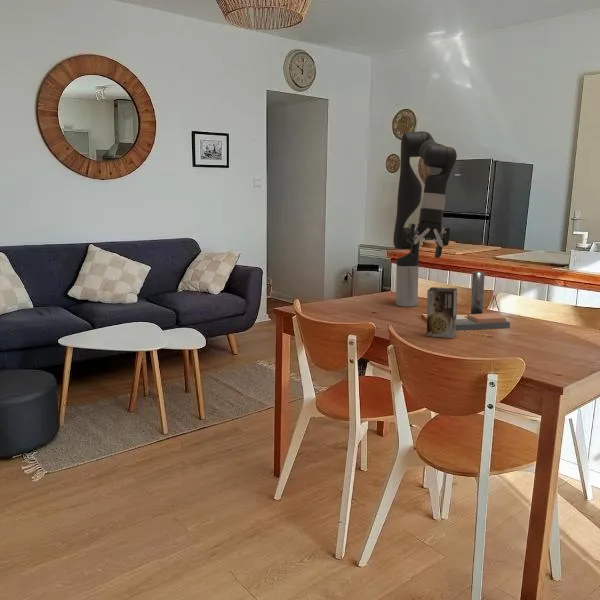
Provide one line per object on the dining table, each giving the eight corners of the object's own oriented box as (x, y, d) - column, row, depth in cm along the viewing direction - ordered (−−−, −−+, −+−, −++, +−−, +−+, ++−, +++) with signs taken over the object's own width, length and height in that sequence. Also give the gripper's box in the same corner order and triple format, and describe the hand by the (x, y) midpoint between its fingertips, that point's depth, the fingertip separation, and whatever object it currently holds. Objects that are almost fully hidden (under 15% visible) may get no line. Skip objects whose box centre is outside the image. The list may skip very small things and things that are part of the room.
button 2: (467, 319, 214) (468, 314, 214) (494, 318, 216) (495, 313, 216) (477, 324, 207) (478, 319, 206) (505, 323, 208) (505, 317, 208)
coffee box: (456, 334, 200) (458, 288, 196) (452, 338, 194) (454, 291, 191) (429, 331, 203) (431, 286, 200) (425, 336, 198) (427, 289, 194)
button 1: (448, 321, 212) (448, 316, 211) (461, 321, 212) (461, 315, 212) (454, 324, 207) (454, 319, 206) (467, 324, 208) (467, 318, 207)
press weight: (464, 317, 225) (466, 271, 222) (480, 316, 226) (482, 270, 223) (472, 321, 219) (474, 273, 215) (488, 320, 220) (491, 273, 216)
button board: (440, 324, 214) (440, 319, 214) (496, 321, 217) (496, 316, 217) (451, 330, 204) (451, 325, 204) (509, 327, 208) (510, 322, 207)
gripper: (446, 210, 196) (439, 257, 199) (407, 205, 193) (401, 253, 196) (457, 210, 189) (449, 259, 192) (416, 205, 186) (409, 255, 189)
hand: (425, 256), depth 194 cm, fingers open, 8 cm apart
